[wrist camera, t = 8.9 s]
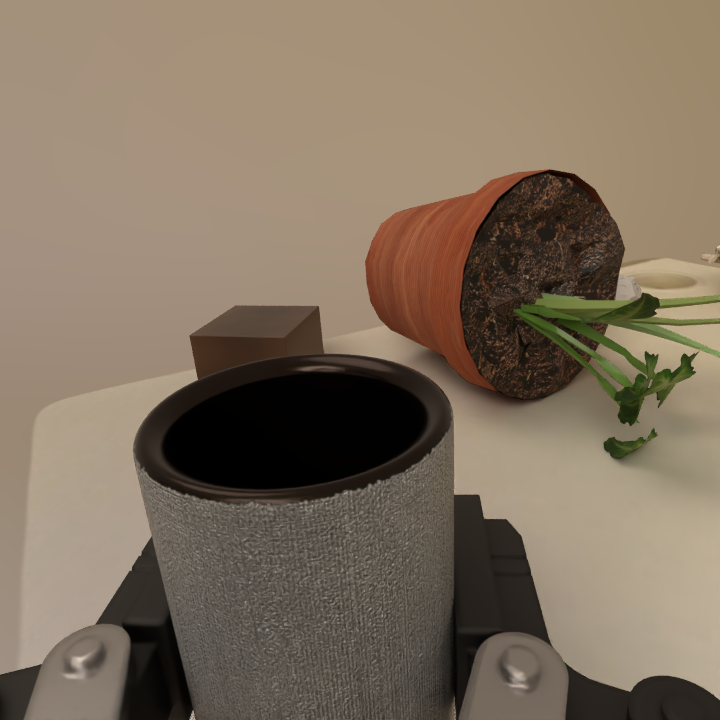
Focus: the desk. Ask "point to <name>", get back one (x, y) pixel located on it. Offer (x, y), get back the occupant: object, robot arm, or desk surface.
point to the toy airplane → (712, 256)
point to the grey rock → (627, 289)
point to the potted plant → (522, 290)
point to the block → (256, 336)
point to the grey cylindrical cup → (307, 538)
